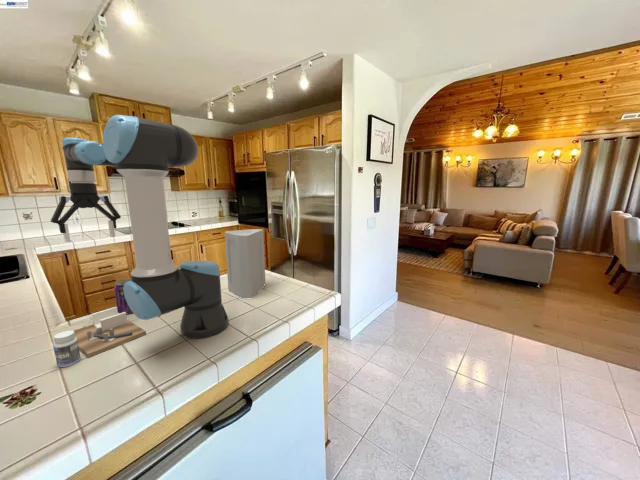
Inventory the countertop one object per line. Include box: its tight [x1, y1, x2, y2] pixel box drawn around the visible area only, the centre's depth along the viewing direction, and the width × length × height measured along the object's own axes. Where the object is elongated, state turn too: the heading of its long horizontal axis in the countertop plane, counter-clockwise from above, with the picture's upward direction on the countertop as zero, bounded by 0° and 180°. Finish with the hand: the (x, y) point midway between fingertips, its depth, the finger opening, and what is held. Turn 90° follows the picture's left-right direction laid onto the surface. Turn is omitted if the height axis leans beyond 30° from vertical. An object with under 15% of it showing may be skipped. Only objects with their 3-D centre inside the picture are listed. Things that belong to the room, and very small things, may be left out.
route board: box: [73, 319, 147, 359], centre depth 86 cm, size 20×15×4 cm
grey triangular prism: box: [224, 228, 266, 299], centre depth 123 cm, size 19×15×28 cm
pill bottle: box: [53, 330, 81, 368], centre depth 72 cm, size 5×5×8 cm
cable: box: [93, 329, 132, 339], centre depth 83 cm, size 13×4×1 cm, turn 81°
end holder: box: [91, 306, 128, 332], centre depth 91 cm, size 8×7×4 cm
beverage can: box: [113, 278, 134, 315], centre depth 102 cm, size 7×7×12 cm
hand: (91, 239), depth 102 cm, fingers open, 13 cm apart
